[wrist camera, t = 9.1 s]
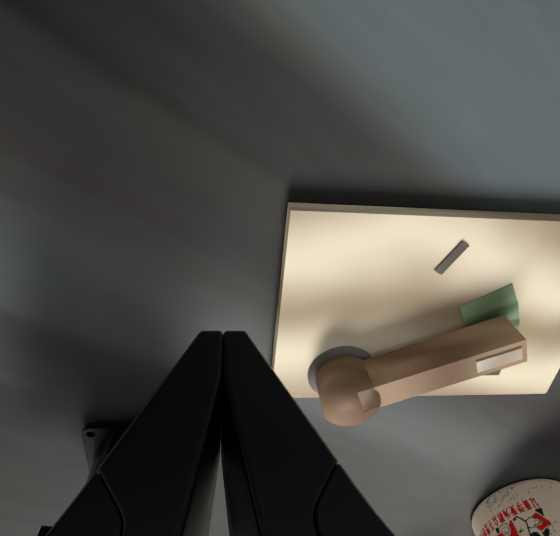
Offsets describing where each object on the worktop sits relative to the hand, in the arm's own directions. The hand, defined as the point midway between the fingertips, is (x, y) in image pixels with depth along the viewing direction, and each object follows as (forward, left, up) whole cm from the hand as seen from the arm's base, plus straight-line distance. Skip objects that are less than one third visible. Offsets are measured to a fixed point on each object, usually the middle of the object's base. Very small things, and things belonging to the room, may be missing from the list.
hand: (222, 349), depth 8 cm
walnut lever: (-10, -11, -12) cm, 19 cm away
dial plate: (-8, -12, -13) cm, 19 cm away
